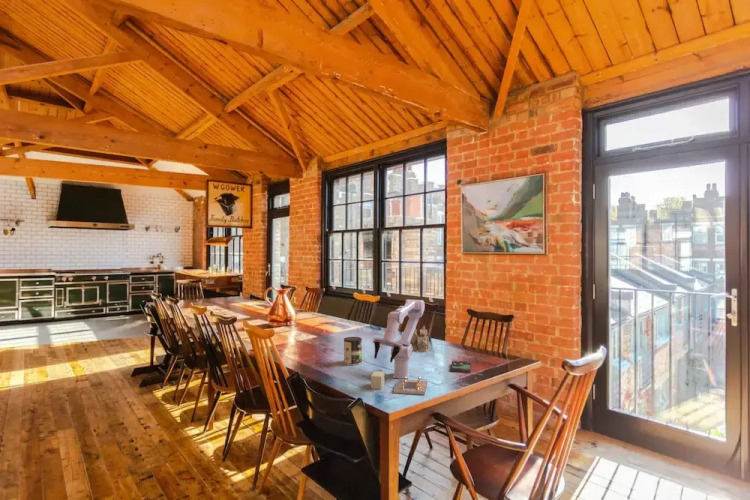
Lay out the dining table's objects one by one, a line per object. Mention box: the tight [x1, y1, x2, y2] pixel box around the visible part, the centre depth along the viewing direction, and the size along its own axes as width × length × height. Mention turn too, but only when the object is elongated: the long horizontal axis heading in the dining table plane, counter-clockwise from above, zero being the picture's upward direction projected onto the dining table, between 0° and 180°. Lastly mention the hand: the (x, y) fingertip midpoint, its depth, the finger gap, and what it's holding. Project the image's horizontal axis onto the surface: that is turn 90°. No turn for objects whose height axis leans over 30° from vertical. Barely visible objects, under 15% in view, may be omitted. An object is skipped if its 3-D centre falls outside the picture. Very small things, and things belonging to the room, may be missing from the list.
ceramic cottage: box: [410, 325, 432, 353], centre depth 272 cm, size 16×16×15 cm
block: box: [370, 370, 386, 390], centre depth 199 cm, size 8×5×6 cm, turn 168°
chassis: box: [393, 376, 428, 396], centre depth 195 cm, size 15×14×4 cm
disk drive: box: [450, 360, 472, 374], centre depth 228 cm, size 10×3×15 cm
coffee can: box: [343, 336, 363, 366], centre depth 240 cm, size 10×10×14 cm
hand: (382, 359), depth 196 cm, fingers open, 7 cm apart
